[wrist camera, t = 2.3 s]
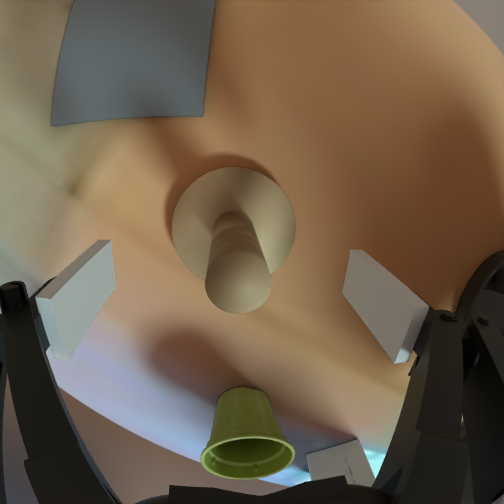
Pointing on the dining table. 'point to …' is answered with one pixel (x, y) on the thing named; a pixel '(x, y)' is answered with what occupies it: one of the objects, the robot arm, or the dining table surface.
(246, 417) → the plant pot
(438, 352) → the robot arm
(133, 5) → the mat
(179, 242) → the beige disc-based post
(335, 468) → the tall white carton
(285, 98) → the dining table surface
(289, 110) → the dining table surface
